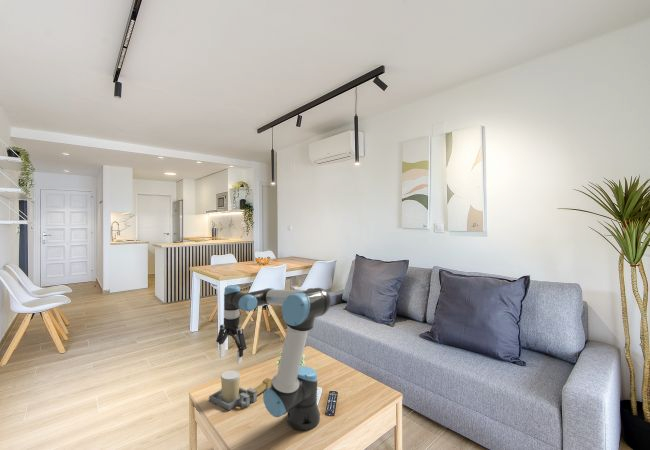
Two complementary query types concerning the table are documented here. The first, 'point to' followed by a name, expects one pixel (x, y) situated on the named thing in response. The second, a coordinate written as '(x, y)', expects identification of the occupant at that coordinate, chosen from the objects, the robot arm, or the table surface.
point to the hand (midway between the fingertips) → (230, 359)
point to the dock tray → (242, 396)
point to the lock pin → (262, 387)
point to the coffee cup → (230, 385)
